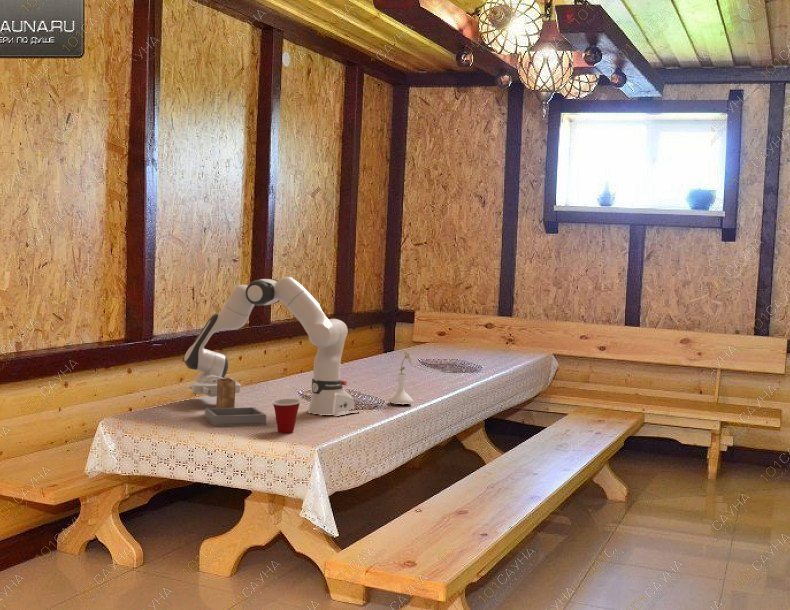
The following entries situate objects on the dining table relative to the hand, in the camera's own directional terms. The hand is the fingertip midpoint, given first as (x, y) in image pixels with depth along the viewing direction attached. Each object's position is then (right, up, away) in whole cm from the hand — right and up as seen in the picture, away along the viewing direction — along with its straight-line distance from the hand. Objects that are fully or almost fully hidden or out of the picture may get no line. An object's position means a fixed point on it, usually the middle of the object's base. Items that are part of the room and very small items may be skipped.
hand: (220, 391), depth 426 cm
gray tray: (+9, -10, -21) cm, 25 cm away
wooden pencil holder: (+3, -9, -8) cm, 12 cm away
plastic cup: (+30, -13, -36) cm, 48 cm away
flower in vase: (+74, -9, +37) cm, 83 cm away
